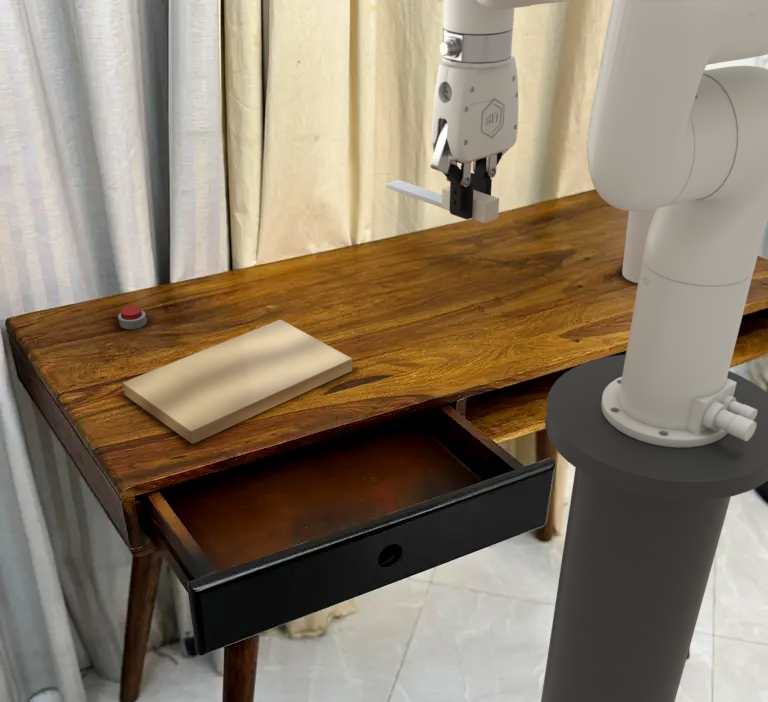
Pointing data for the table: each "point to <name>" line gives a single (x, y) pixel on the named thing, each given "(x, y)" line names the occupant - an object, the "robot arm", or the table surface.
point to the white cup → (636, 242)
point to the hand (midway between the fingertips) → (469, 211)
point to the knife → (482, 206)
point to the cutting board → (236, 379)
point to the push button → (132, 317)
